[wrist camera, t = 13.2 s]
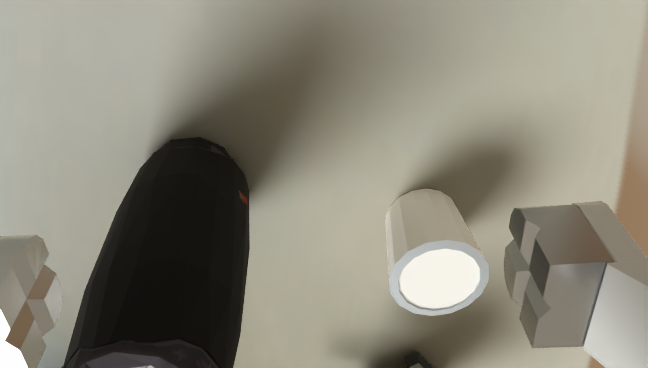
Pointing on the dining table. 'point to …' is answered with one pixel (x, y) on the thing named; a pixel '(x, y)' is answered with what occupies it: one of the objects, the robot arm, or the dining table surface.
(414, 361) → the figurine
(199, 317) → the portable speaker
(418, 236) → the white cylinder
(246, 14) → the dining table surface
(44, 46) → the dining table surface
